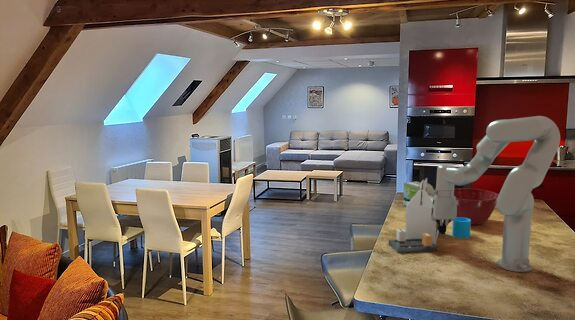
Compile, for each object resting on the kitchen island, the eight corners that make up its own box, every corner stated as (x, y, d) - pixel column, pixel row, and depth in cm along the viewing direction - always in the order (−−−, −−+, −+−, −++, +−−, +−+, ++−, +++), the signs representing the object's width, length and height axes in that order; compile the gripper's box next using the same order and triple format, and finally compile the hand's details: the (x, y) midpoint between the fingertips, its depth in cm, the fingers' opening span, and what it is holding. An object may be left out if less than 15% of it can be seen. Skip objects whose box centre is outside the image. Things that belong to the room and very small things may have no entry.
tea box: (402, 205, 285) (403, 182, 283) (415, 204, 289) (416, 181, 287) (419, 211, 272) (419, 186, 270) (432, 209, 276) (433, 185, 274)
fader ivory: (405, 241, 209) (405, 231, 208) (399, 241, 208) (399, 231, 208) (402, 238, 213) (402, 228, 212) (396, 238, 212) (396, 228, 212)
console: (437, 250, 202) (437, 246, 202) (397, 252, 200) (397, 247, 200) (426, 242, 214) (426, 237, 214) (388, 244, 212) (388, 239, 212)
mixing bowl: (489, 232, 229) (491, 201, 227) (433, 223, 246) (434, 194, 244) (503, 219, 251) (504, 192, 249) (450, 212, 269) (451, 186, 266)
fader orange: (432, 246, 202) (432, 235, 201) (425, 246, 201) (425, 235, 201) (428, 243, 206) (428, 232, 205) (421, 243, 205) (422, 233, 205)
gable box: (412, 229, 236) (413, 175, 232) (439, 232, 231) (441, 177, 227) (405, 242, 216) (406, 183, 212) (434, 245, 211) (436, 185, 207)
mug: (468, 239, 218) (468, 222, 217) (450, 236, 223) (450, 220, 222) (473, 233, 228) (474, 216, 227) (456, 230, 233) (456, 214, 232)
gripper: (431, 195, 197) (429, 236, 200) (465, 194, 199) (462, 235, 202) (424, 191, 204) (422, 231, 207) (457, 190, 206) (454, 230, 209)
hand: (442, 233), depth 204 cm, fingers closed
